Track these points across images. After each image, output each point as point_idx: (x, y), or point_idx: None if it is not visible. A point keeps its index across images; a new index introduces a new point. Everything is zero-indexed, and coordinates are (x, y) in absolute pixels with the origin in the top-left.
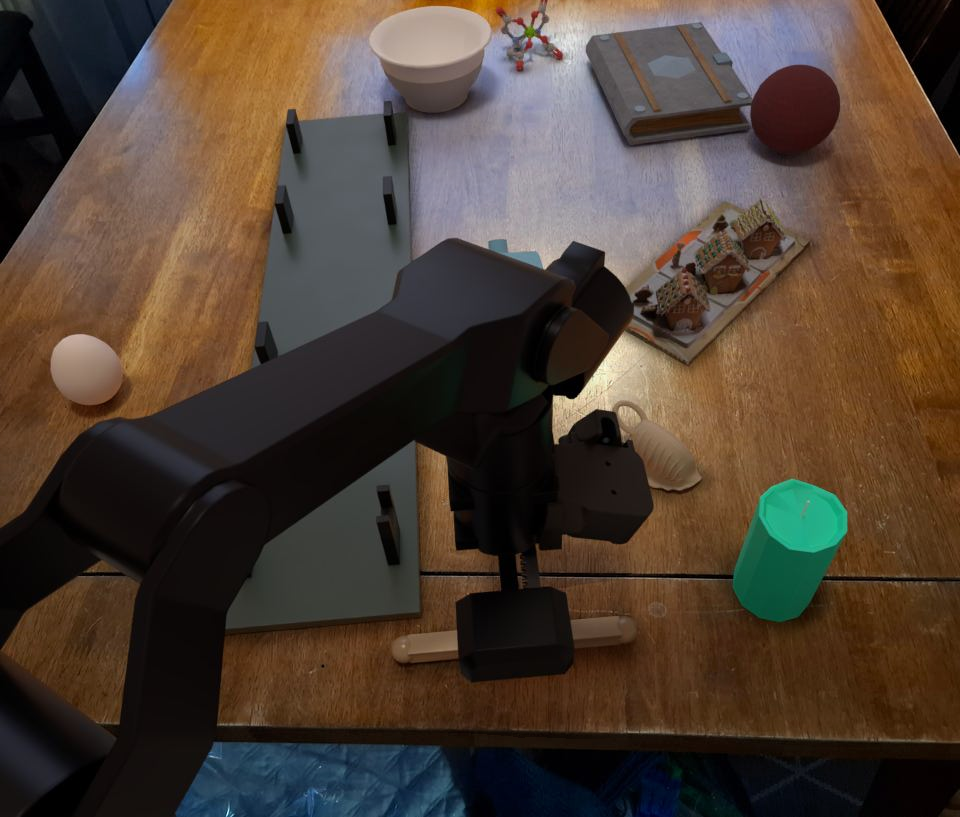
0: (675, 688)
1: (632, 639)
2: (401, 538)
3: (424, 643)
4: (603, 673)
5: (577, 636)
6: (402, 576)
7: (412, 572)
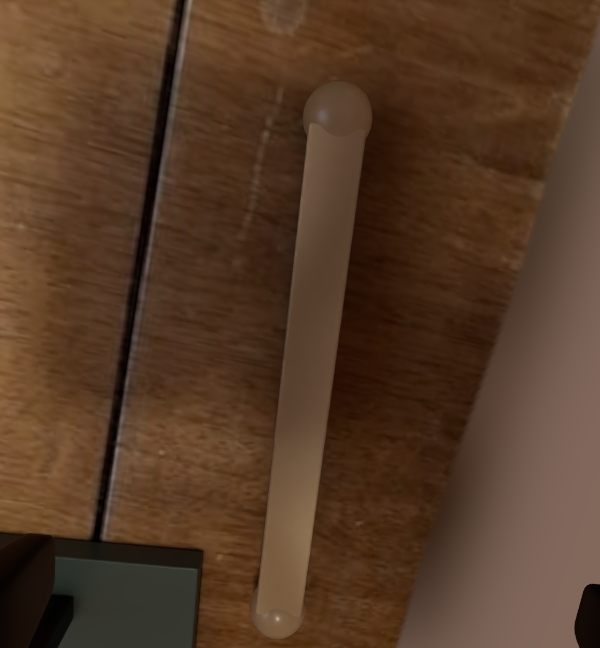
0: (493, 33)
1: (370, 104)
2: None
3: (284, 584)
4: (413, 199)
5: (344, 249)
6: (105, 594)
7: (97, 573)
